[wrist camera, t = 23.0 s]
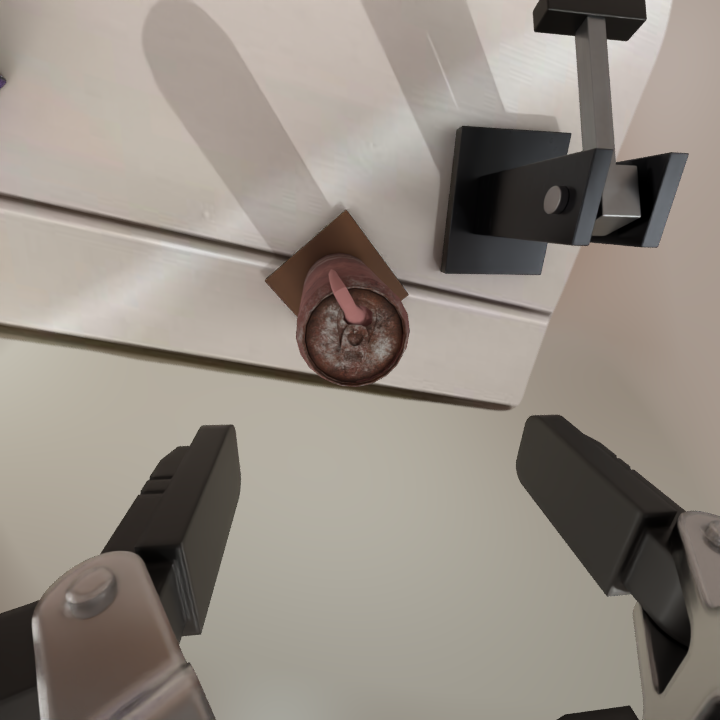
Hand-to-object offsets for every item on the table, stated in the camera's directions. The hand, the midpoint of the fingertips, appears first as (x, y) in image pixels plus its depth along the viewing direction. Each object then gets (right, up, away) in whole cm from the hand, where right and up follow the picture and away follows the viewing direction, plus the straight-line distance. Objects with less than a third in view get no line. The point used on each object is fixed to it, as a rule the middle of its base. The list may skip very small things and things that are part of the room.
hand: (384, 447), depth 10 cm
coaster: (-3, +9, +22) cm, 24 cm away
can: (-3, +9, +21) cm, 23 cm away
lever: (+12, +16, +11) cm, 23 cm away
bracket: (+11, +16, +21) cm, 28 cm away
